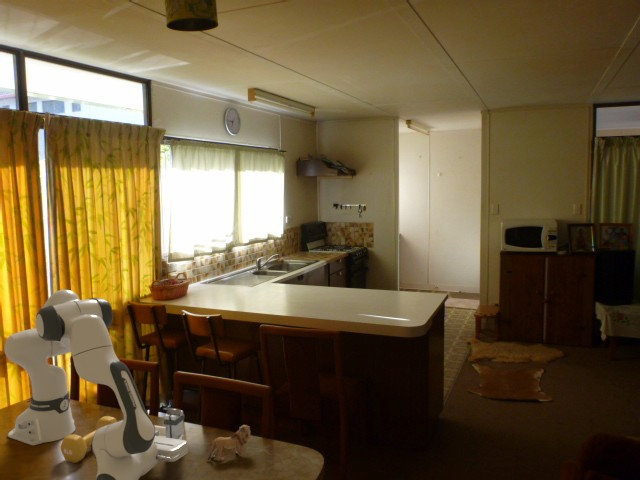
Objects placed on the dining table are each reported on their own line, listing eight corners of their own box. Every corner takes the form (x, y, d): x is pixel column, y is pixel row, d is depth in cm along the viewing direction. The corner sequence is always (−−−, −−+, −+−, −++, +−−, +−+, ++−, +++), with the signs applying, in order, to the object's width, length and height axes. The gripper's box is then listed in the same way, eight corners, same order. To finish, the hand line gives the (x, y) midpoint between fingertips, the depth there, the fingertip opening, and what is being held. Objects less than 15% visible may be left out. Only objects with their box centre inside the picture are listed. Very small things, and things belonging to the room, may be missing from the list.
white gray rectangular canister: (165, 456, 171) (163, 411, 169) (174, 449, 176) (172, 405, 174) (177, 458, 169) (175, 413, 168) (186, 450, 174) (184, 406, 173)
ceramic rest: (132, 447, 177) (131, 439, 177) (152, 433, 188) (151, 424, 187) (160, 452, 174) (160, 443, 173) (179, 436, 184) (178, 428, 184)
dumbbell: (78, 466, 166) (76, 441, 165) (58, 461, 170) (56, 436, 169) (123, 439, 183) (122, 417, 183) (104, 435, 187) (102, 412, 186)
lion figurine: (248, 446, 176) (247, 421, 175) (253, 454, 172) (252, 427, 171) (204, 458, 170) (203, 431, 169) (209, 465, 165) (208, 438, 164)
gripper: (173, 450, 153) (198, 429, 166) (114, 441, 159) (142, 421, 172) (174, 471, 153) (198, 448, 167) (115, 461, 160) (143, 439, 173)
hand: (169, 434), depth 169 cm, fingers open, 8 cm apart
